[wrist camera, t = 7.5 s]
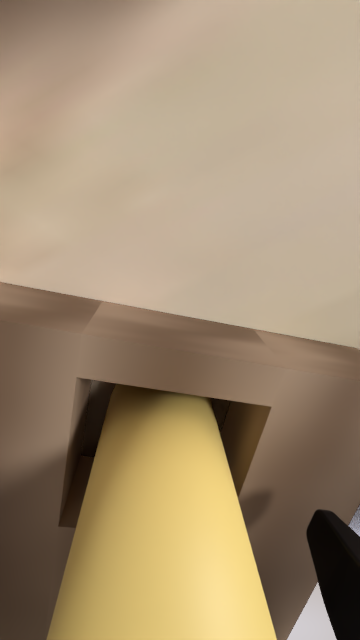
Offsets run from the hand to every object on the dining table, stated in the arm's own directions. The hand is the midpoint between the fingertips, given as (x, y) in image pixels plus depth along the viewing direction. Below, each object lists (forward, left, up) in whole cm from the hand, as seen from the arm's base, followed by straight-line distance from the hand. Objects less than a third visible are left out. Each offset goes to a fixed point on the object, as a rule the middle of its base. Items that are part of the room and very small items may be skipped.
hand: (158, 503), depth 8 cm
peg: (0, 0, -4) cm, 4 cm away
